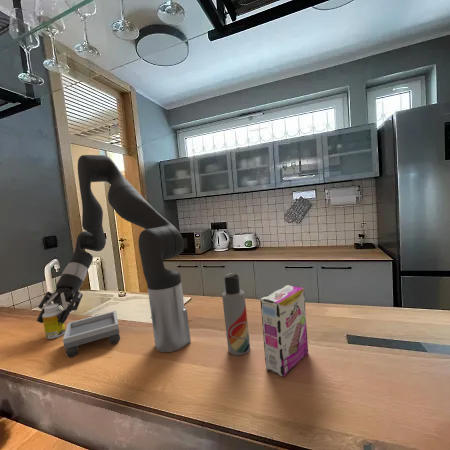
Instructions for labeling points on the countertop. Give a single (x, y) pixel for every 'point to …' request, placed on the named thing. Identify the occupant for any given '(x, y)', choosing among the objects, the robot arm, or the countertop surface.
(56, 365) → the countertop surface
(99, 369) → the countertop surface
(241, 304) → the lotion bottle
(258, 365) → the countertop surface
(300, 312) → the candy bar box
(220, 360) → the countertop surface
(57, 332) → the supplement bottle
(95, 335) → the square grey tray
